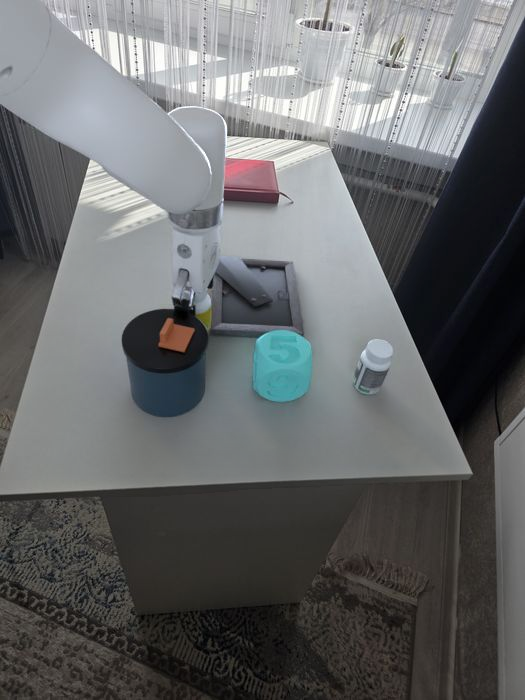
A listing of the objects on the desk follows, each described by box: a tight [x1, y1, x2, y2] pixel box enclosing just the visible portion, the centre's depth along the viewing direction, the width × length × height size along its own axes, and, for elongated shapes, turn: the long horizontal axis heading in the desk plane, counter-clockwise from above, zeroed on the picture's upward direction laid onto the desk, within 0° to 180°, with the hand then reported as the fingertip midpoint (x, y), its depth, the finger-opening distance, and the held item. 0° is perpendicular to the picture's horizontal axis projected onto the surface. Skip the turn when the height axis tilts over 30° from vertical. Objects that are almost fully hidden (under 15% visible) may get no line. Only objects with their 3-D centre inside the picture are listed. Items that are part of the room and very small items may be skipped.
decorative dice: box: [252, 330, 313, 403], centre depth 72 cm, size 8×8×8 cm
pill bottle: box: [351, 338, 395, 395], centre depth 73 cm, size 5×5×8 cm
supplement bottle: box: [184, 282, 212, 336], centre depth 77 cm, size 5×5×10 cm
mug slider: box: [158, 318, 195, 352], centre depth 63 cm, size 4×4×2 cm
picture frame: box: [210, 255, 305, 339], centre depth 87 cm, size 16×2×21 cm
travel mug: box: [121, 308, 210, 418], centre depth 67 cm, size 12×12×11 cm
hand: (194, 304), depth 76 cm, fingers open, 9 cm apart
